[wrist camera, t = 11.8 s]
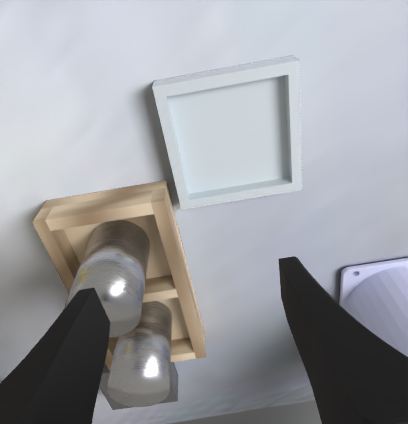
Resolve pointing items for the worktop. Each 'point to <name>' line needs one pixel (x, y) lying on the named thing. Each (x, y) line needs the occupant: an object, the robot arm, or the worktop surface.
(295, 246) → the worktop surface
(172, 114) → the tray
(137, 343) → the seated billet
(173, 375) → the grey square socket block
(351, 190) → the worktop surface
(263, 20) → the worktop surface
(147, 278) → the wooden compartment tray
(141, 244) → the billet
